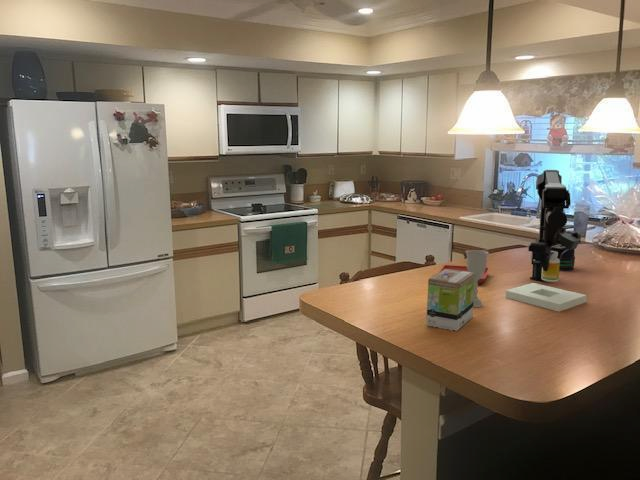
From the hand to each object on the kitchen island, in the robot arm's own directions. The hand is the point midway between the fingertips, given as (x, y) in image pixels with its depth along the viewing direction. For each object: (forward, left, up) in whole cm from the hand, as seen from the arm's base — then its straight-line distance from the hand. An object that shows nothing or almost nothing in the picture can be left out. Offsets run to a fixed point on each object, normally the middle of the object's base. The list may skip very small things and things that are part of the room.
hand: (550, 269), depth 182 cm
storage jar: (-22, +44, -11) cm, 50 cm away
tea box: (-6, -43, -11) cm, 45 cm away
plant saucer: (-37, 0, -11) cm, 38 cm away
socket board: (-1, -1, -10) cm, 11 cm away
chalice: (-12, -24, -11) cm, 29 cm away
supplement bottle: (0, 0, -4) cm, 4 cm away
